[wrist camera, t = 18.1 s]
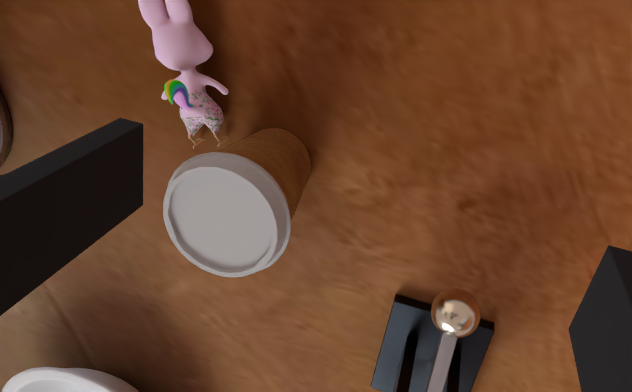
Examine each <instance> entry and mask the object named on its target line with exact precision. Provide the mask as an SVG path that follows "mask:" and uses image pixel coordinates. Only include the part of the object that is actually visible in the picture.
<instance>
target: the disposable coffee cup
mask: <svg viewBox="0 0 632 392" xmlns="http://www.w3.org/2000/svg"><path fill="white" fill-rule="evenodd" d="M310 172H311V160H310V156H309V153H308V151H307V149H306V147H305V146H304V144H303V143H302V142H301V141H300V139H299V138H297V137H296V136H295V135H293V134H292V133H290V132H288V131H286V130H283V129H279V128H267V129H263V130H260V131H258V132H256V133H254V134H252V135H250V136H248V137H245V138H244V139H241V140H239V141H237V142H235V143H233V144H231V145H229V146H227V147H225V148H223V149H221V150H219V151H217V152H210V153H205V154H200V155H197V156H194V157H192V158H190V159H189V160H187V161H185V162H184V163H183V164H182V165H181V166H180V167H179V168H178V169H177V170H176V171H175V172H174V174H173V175H172V177H171V179H170V181H169V184H168V187H167V191H166V194H165V198H164V203H163V218H164V222H165V225H166V229H167V231H168V233H169V236H170V238H171V240H172V241H173V243H174V244H175V246H176V247H177V248H178V250H179V251H180V252H181V253H182V254H183V255H184V256H185V257H186V258H187V259H188V260H189V261H190V262H192V263H193V264H195V265H196V266H198V267H200V268H201V269H203V270H205V271H207V272H210V273H212V274H215V275H220V276H224V277H243V276H246V275H249V274H253V273H254V272H257V271H261V270H263V269H265V268H267V267H269V266H270V265H272V264H273V263H274V262H275V261H276V260H277V259H278V258H279V257H280V256H281V255H282V253H283V252H284V250H285V248H286V246H287V243H288V241H289V236H290V232H291V220H292V218H293V215H294V213H295V210H296V208H297V205H298V203H299V200H300V198H301V196H302V193H303V190H304V188H305V186H306V183H307V181H308V178H309V176H310Z"/></svg>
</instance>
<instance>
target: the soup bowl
mask: <svg viewBox="0 0 632 392" xmlns="http://www.w3.org/2000/svg"><path fill="white" fill-rule="evenodd" d="M2 392H139V391H138V390H137V389H135V388H134V387H133V386H131V385H130V384H128V383H126V382H125V381H123V380H121V379H119V378H117V377H115V376H113V375H110V374H107V373H104V372H101V371H97V370H92V369H85V368H64V369H62V368H54V367H39V368H32V369H28V370H25V371H22V372H21V373H19V374H17V375H15V376H14V377H12V378H11V379H10V380H9V381H8V382H7V383H6V385H5V386H4V388H3V390H2Z"/></svg>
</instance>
